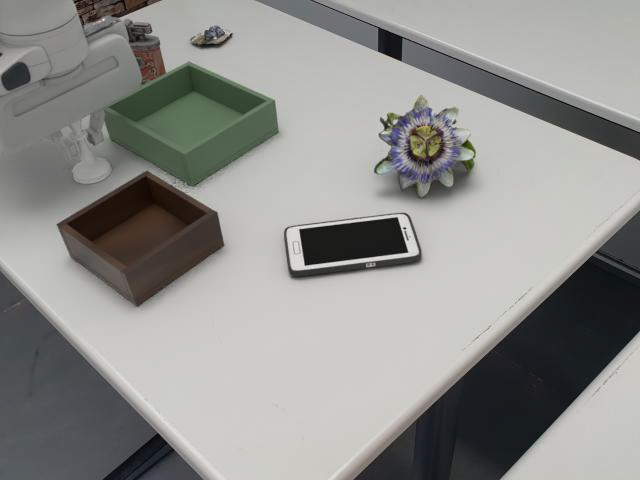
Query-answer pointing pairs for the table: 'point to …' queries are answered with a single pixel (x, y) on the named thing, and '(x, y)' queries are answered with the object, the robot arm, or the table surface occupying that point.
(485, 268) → the table surface
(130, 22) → the lighter
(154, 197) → the walnut bin
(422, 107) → the passion flower
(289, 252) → the cell phone
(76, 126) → the chess piece
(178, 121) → the sage bin
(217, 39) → the mineral rock specimen
